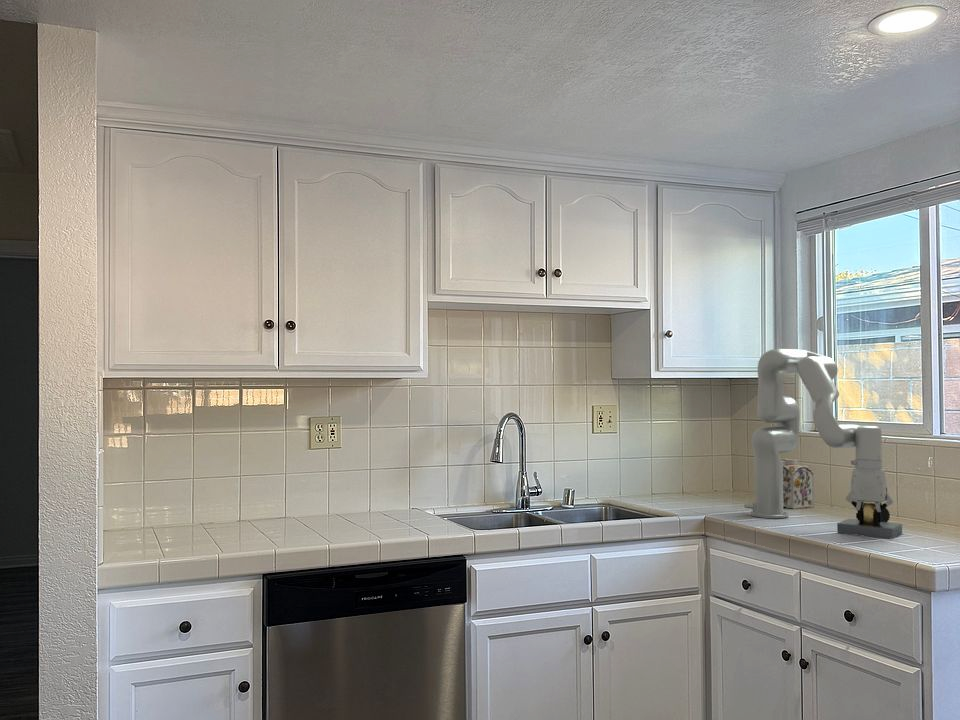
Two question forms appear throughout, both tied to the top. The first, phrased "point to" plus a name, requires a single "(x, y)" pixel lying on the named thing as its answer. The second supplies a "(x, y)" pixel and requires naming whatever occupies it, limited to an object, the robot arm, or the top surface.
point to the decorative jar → (797, 485)
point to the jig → (869, 528)
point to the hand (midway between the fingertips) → (869, 522)
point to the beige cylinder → (868, 513)
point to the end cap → (884, 515)
